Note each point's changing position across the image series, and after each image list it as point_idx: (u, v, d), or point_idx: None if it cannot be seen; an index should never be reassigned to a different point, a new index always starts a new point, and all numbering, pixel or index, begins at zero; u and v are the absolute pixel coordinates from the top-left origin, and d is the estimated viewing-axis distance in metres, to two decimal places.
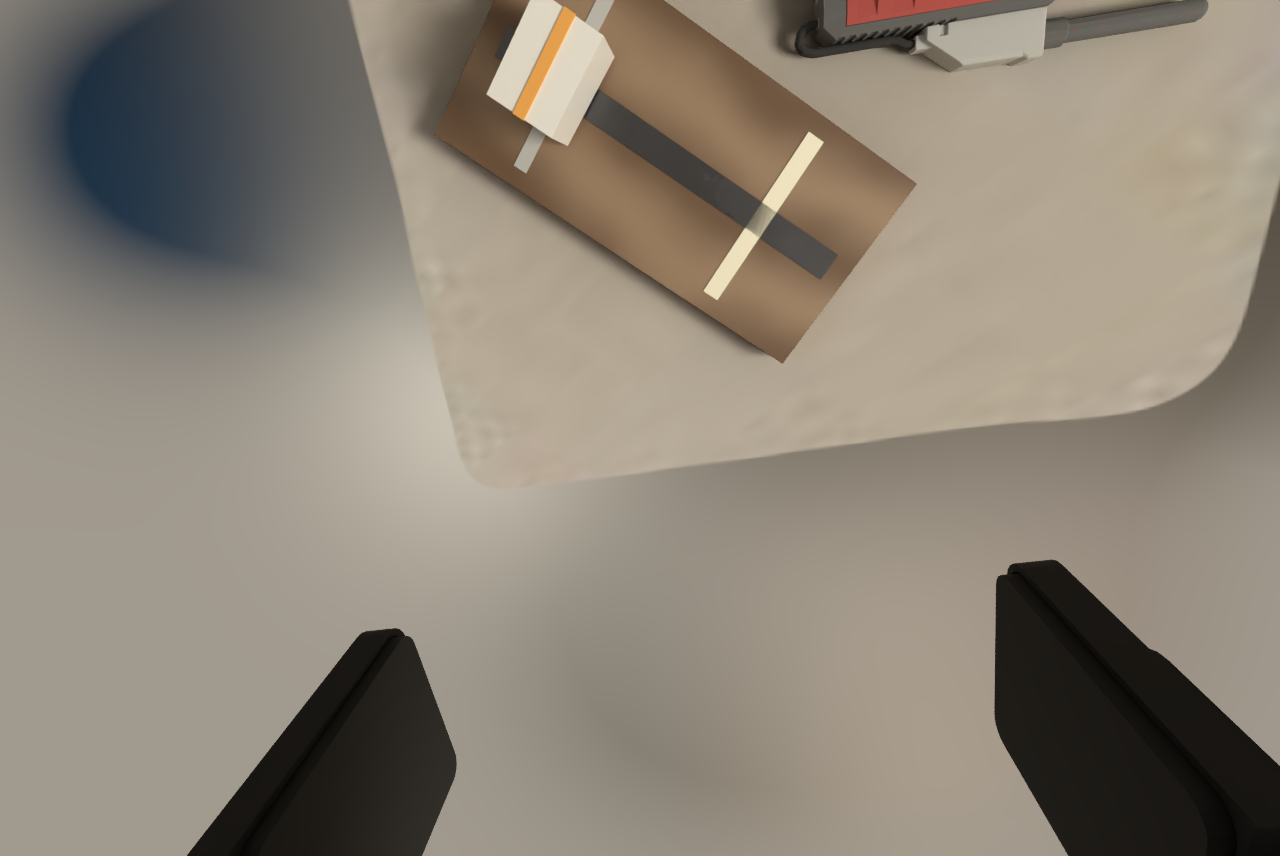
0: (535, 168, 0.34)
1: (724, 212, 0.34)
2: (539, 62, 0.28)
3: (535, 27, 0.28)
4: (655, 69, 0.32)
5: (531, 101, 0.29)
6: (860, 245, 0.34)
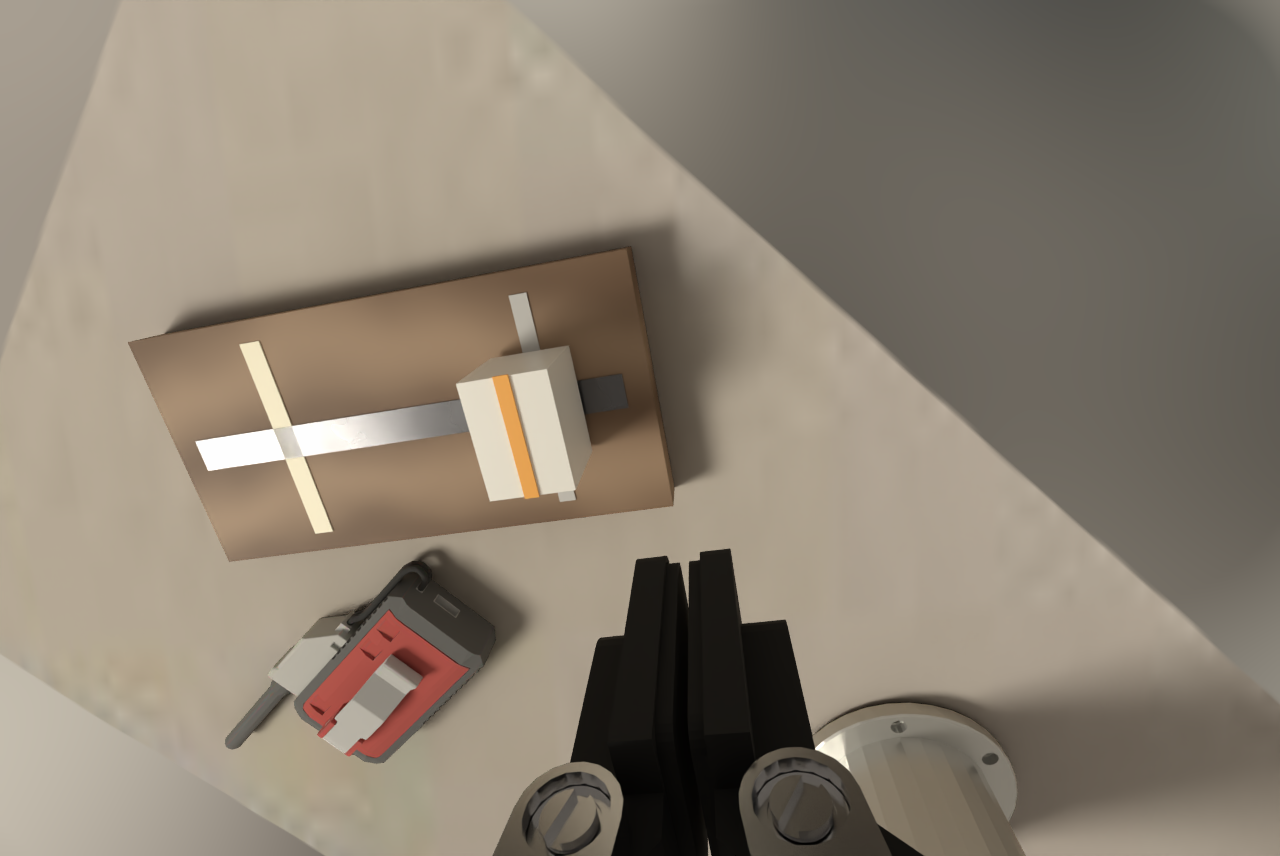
0: (504, 307, 0.26)
1: (320, 422, 0.29)
2: (520, 438, 0.23)
3: (550, 461, 0.24)
4: (482, 476, 0.29)
5: (501, 399, 0.23)
6: (205, 491, 0.31)
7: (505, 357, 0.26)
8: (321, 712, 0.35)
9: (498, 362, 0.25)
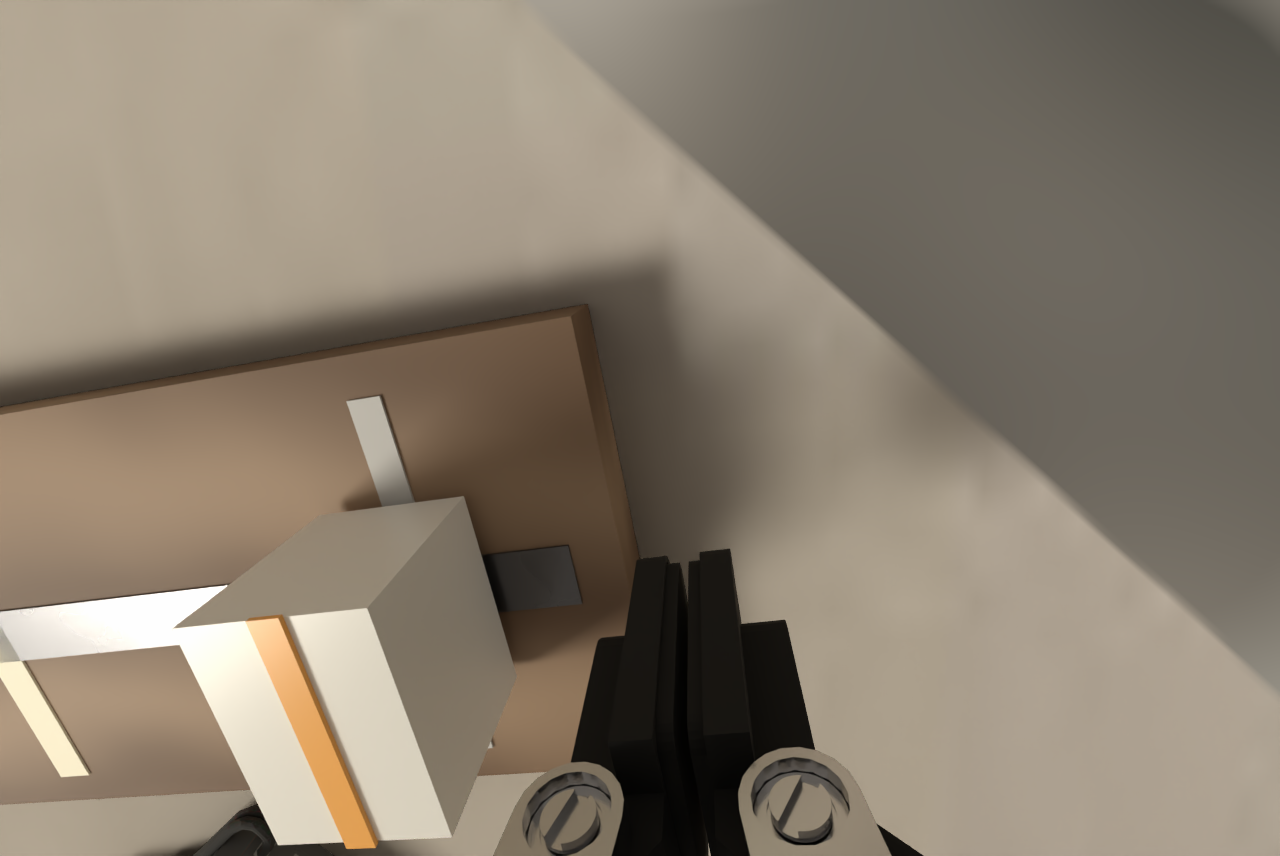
0: (342, 423, 0.14)
1: (40, 607, 0.16)
2: (323, 742, 0.11)
3: (393, 783, 0.11)
4: None
5: (274, 662, 0.10)
6: None
7: (342, 518, 0.14)
8: None
9: (316, 539, 0.13)
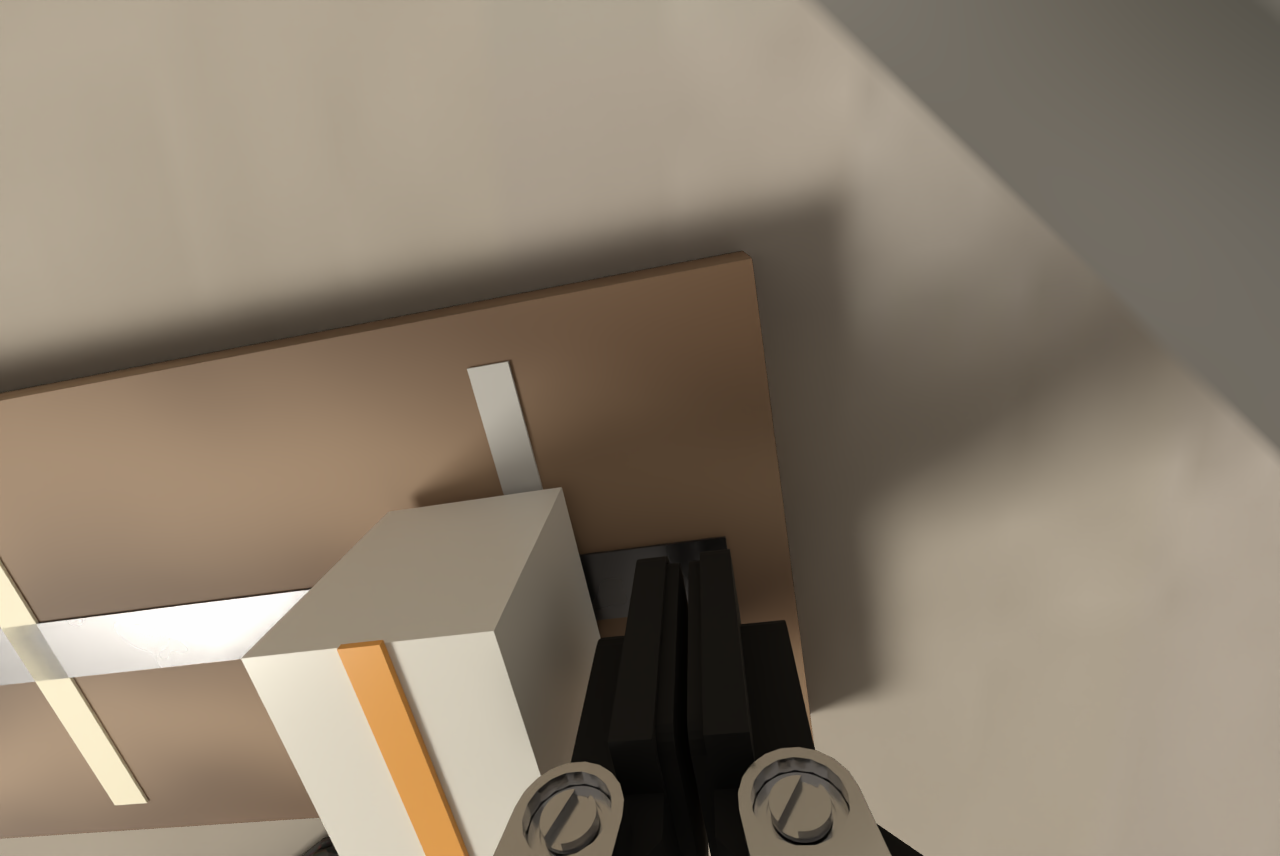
0: (459, 395, 0.11)
1: (91, 617, 0.14)
2: (430, 792, 0.09)
3: None
4: None
5: (370, 699, 0.08)
6: None
7: (417, 515, 0.12)
8: None
9: (393, 541, 0.11)
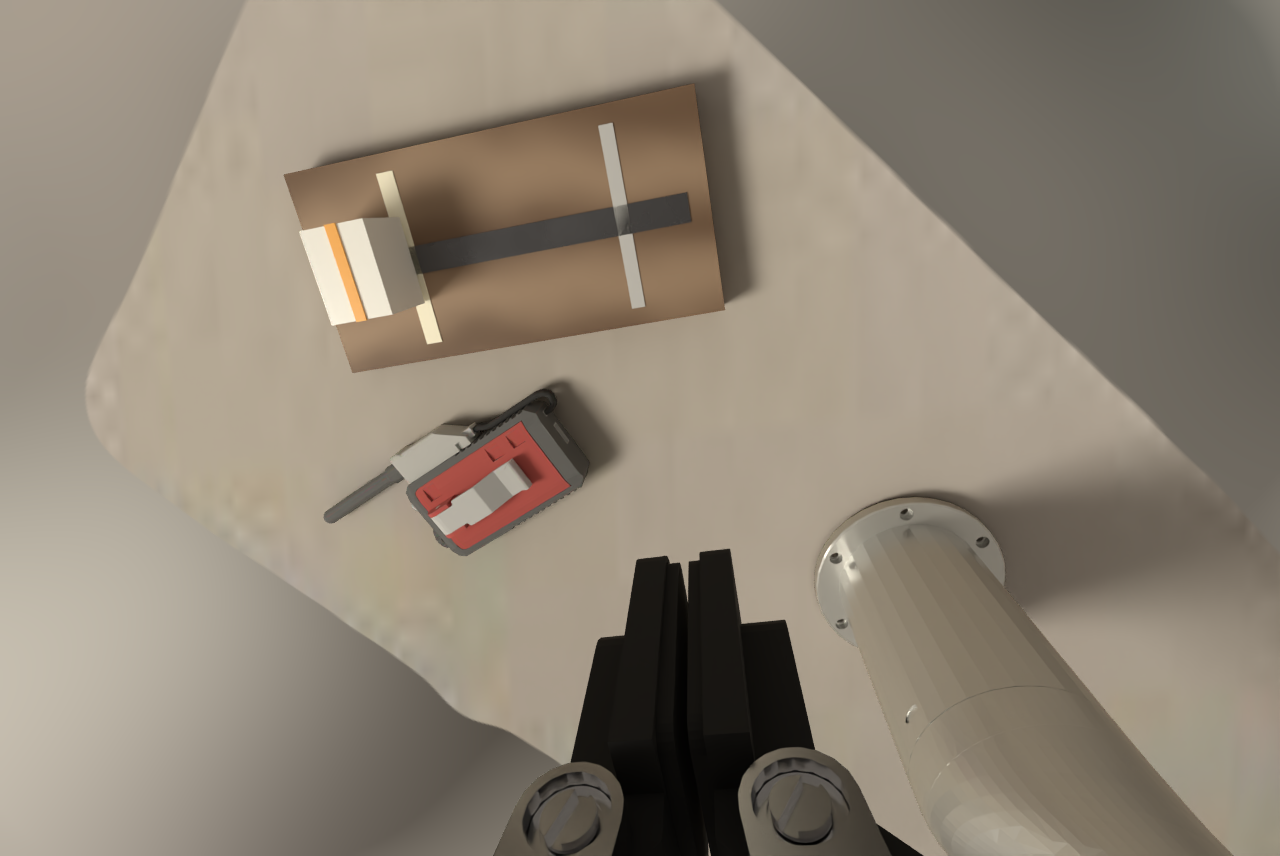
0: (594, 136, 0.33)
1: (437, 242, 0.36)
2: (348, 273, 0.32)
3: (372, 291, 0.32)
4: (568, 288, 0.36)
5: (332, 242, 0.32)
6: None
7: None
8: (431, 499, 0.41)
9: None
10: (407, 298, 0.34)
